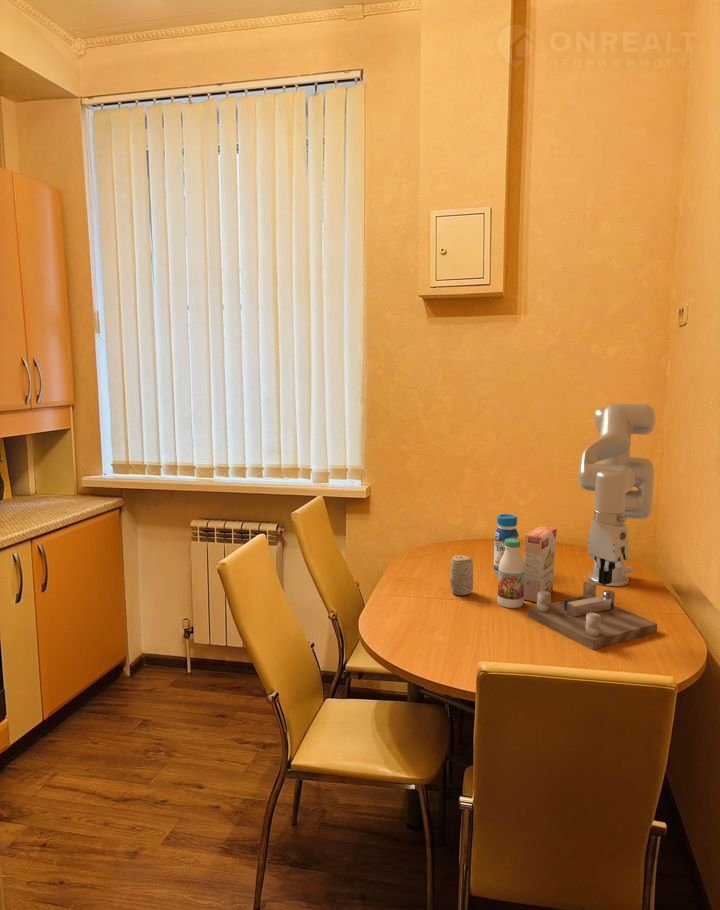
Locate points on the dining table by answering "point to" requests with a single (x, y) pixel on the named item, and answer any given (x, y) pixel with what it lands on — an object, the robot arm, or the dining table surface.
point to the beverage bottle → (503, 536)
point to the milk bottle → (511, 576)
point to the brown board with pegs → (590, 621)
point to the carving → (461, 575)
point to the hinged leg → (592, 604)
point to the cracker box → (539, 561)
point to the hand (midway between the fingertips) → (604, 582)
